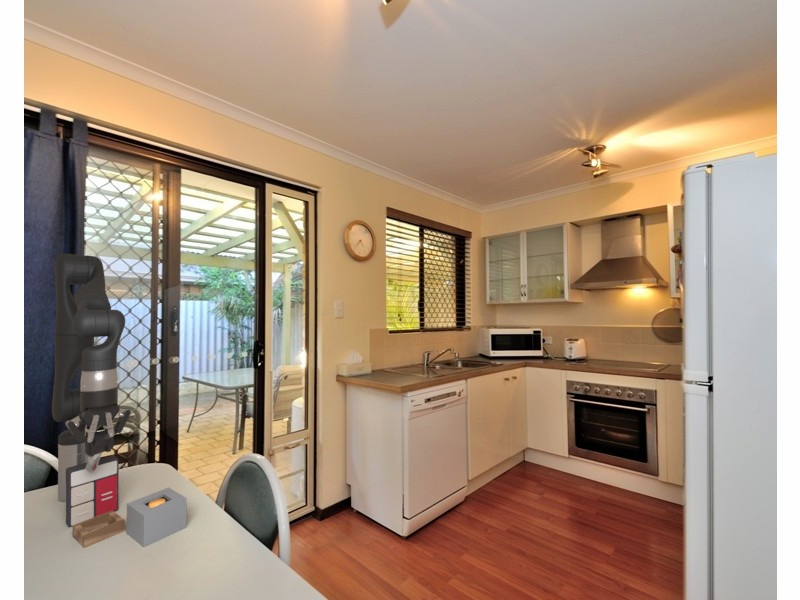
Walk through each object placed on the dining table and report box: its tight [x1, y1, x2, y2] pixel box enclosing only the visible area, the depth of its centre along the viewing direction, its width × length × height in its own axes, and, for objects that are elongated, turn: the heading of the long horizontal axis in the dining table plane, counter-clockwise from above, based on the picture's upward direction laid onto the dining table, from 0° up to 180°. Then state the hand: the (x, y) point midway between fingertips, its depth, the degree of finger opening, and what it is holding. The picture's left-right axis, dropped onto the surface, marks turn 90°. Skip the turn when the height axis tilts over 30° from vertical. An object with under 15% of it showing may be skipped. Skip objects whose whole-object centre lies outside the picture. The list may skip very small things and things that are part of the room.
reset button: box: [149, 498, 165, 508], centre depth 97 cm, size 4×4×5 cm
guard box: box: [126, 487, 188, 548], centre depth 97 cm, size 10×10×8 cm
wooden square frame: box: [72, 510, 126, 549], centre depth 96 cm, size 8×8×3 cm
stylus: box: [85, 429, 110, 471], centre depth 97 cm, size 3×3×12 cm
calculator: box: [65, 455, 120, 528], centre depth 104 cm, size 11×4×15 cm, turn 142°
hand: (99, 453), depth 96 cm, fingers closed on stylus, 3 cm apart
